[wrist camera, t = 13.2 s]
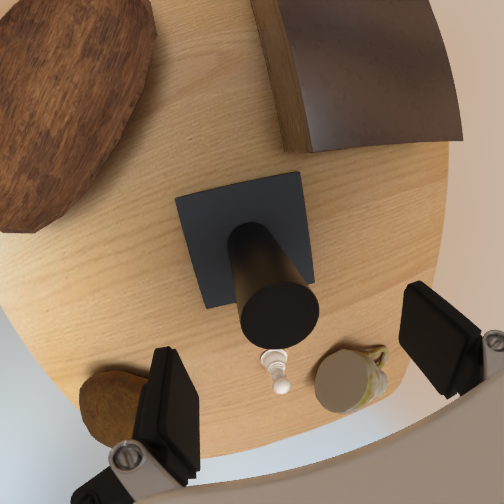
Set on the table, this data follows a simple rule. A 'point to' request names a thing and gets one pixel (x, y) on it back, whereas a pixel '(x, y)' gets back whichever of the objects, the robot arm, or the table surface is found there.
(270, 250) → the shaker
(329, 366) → the mug
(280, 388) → the chess pawn
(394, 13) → the cabinet
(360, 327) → the table surface
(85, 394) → the potato
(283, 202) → the mat
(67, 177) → the bowl
